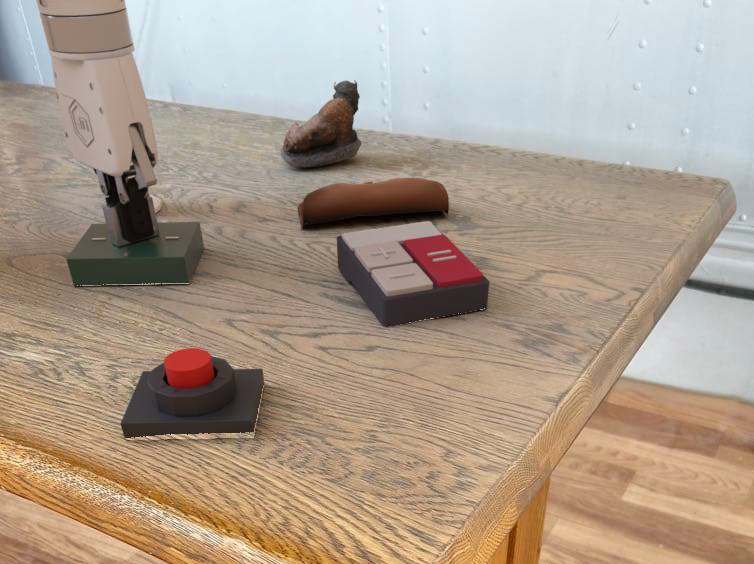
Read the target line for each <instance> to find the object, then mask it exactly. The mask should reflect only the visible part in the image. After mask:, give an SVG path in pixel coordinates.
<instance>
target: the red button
mask: <svg viewBox="0 0 754 564" xmlns="http://www.w3.org/2000/svg"><path fill="white" fill-rule="evenodd" d="M211 356H212V355H211V354H210V352H209V351H208V350H205V349H203V348H197V347H196V348H195V347H187V348H181V349H178V350H174V351H173V352H171V353H169V354H168V355H166V356H165V358H164V360H163V362H164V366H165V370H166V375H167V379H168V383H169V385H170V386H172V387H175V388H178V389H188V388H196V387H199V386H203V385H206V384H208V383H210V382H211V381H212V380H214V377H215V376H214V370H213V365H212V359H211Z"/></svg>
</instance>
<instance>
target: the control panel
mask: <svg viewBox="0 0 754 564" xmlns="http://www.w3.org/2000/svg"><path fill="white" fill-rule="evenodd" d="M157 223H158V228H159V233H160V234H159V235H157V236H153V237H150V238H147V239H143V240H140V241H137V242H134V243H130V244H127V245H124V246H120V247H118V246H116V245H114V244H112V243H111V241H110V237H109V233H108V229H107V224H106V223H91V224H90V226H89V227H88V228H87V230H86V231H85V233H84V234H83V235H82V237H81V238H80V239H79V241H78V242H77V243H76V245H75V246H74V247H73V249H72V250H71V252H70V253H69V254H68V256H67V257H66V263H67V267H68V270H69V274H70V277H71V281H72V284H73V287H74V286H77V285H78V286H80V285H81V286H82V285H103V284H104V285H106V284H142V283H143V284H145V283H146V284H148V283H150V284H151V283H154V284H155V283H161V284H162V283H189V282H190V280H191V281H192V279H193V277H192V275H193V276H194V274H195V271H196V269H197V267H198V265H199V262H200V259H201V257H202V255H203V251H204V250H205V244H204V238H203V233H202V232H203V231H202V227H201V222H200V221H179V222H178V221H177V222H176V221H175V222H174V221H173V222H171V221H170V222H167V221H166V222H157ZM191 278H192V279H191ZM190 283H191V282H190Z"/></svg>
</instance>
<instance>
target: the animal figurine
mask: <svg viewBox="0 0 754 564" xmlns="http://www.w3.org/2000/svg"><path fill="white" fill-rule="evenodd" d="M353 81H354V82H351V81H349V80H342V81H340V82H338V83H336V81H334V82H333V89H334V91H335V92H334V93H333V94H332V98H331V99H330V100H328V101H327V102H326V103H325V104H323V105H322V107H320V109H319V110H318V112H316V114H314V115H313V116H311V117H310V118H309V119H308V120H307V121H306V122H305V124H299V123H298V122H296V121H295V122H293V123H292V124H291V125H290V128H289V129H288V131H287V133H286V134H285V136H284V140H283V145H282V146H281V148H280V151H279V152H280V156H281V158H282V160H283V161H284V162H285V163H286V164H288V165H289V166H290V167H293V168H317V167H323V166H327V165H332V164H334V163H338V162H341V161H345V160H347V159H350V158H353V157H355V156H357V155H358V152H359V150H360V148H361V146H362V141H361V139H360V138H359V137H358V133H357V131H356V130H355V129H354V121H355V115H356V113H357V112H358V111H359V100H360V98H361V96H360V93H359V91H358V81H357V80H356V79H353Z"/></svg>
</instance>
